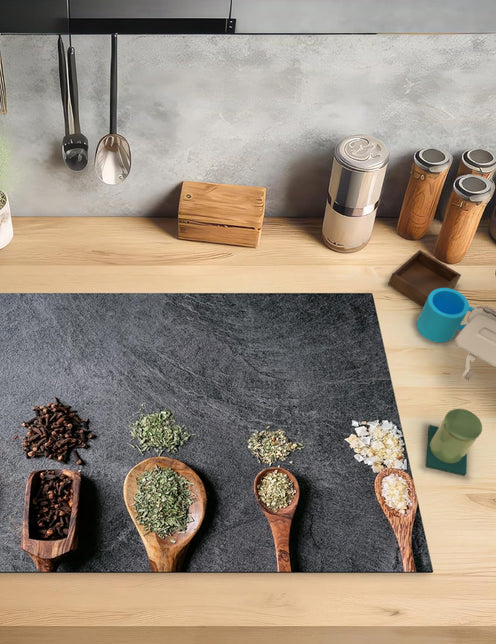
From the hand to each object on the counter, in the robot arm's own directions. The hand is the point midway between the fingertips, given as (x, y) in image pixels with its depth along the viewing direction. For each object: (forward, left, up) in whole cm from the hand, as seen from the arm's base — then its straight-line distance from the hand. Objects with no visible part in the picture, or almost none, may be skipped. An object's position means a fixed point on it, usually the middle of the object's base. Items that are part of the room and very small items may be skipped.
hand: (488, 391), depth 139 cm
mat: (-1, +12, -7) cm, 14 cm away
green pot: (-1, +12, -6) cm, 13 cm away
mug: (+16, -14, -7) cm, 22 cm away
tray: (+26, -21, -7) cm, 34 cm away
